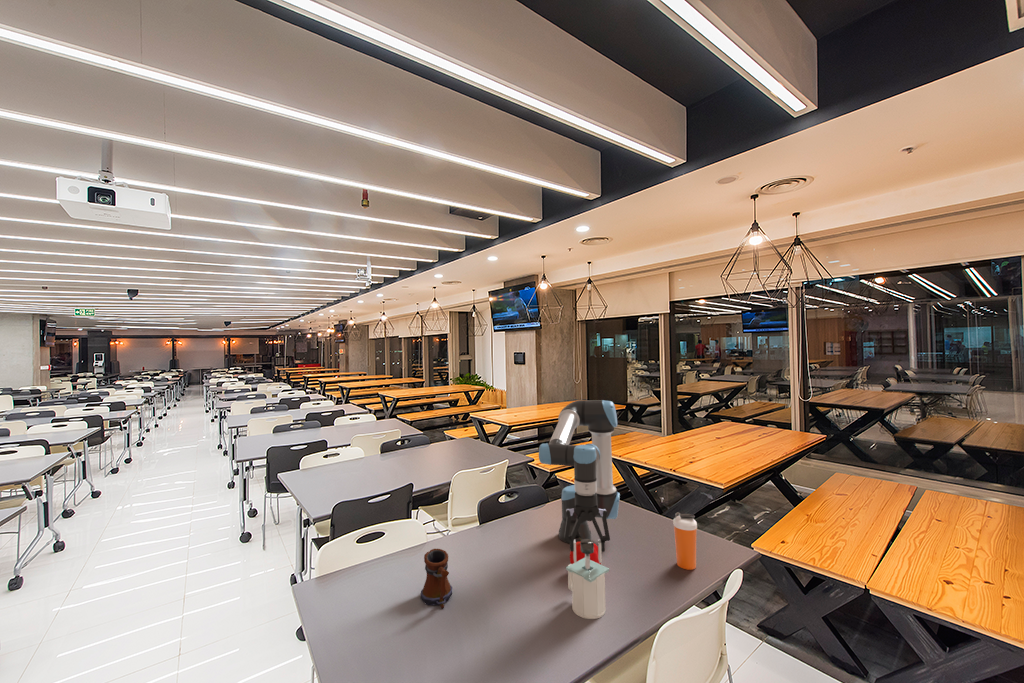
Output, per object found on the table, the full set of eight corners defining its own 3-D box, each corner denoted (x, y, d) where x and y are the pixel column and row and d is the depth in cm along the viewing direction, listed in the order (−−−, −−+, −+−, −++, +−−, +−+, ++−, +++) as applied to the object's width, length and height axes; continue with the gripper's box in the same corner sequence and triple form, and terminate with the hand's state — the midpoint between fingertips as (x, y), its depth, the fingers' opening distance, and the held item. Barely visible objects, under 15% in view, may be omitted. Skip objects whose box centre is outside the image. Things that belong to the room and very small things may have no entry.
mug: (462, 611, 135) (462, 565, 136) (428, 621, 130) (428, 573, 131) (447, 584, 151) (447, 543, 152) (417, 592, 146) (416, 550, 147)
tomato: (605, 582, 151) (604, 546, 151) (573, 584, 150) (572, 547, 150) (597, 566, 162) (596, 532, 163) (567, 567, 161) (566, 534, 162)
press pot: (559, 604, 138) (558, 564, 138) (580, 591, 145) (579, 553, 145) (591, 624, 127) (590, 580, 128) (612, 609, 134) (611, 568, 135)
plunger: (572, 597, 136) (571, 541, 136) (586, 588, 140) (585, 534, 141) (590, 607, 130) (588, 549, 131) (604, 597, 135) (603, 541, 135)
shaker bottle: (701, 572, 156) (699, 519, 157) (676, 570, 158) (675, 518, 159) (695, 560, 165) (693, 511, 166) (672, 558, 167) (670, 510, 168)
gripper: (555, 495, 134) (557, 566, 133) (618, 496, 132) (620, 567, 131) (554, 488, 141) (556, 554, 140) (614, 488, 140) (616, 555, 139)
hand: (587, 560), depth 136 cm, fingers open, 8 cm apart
